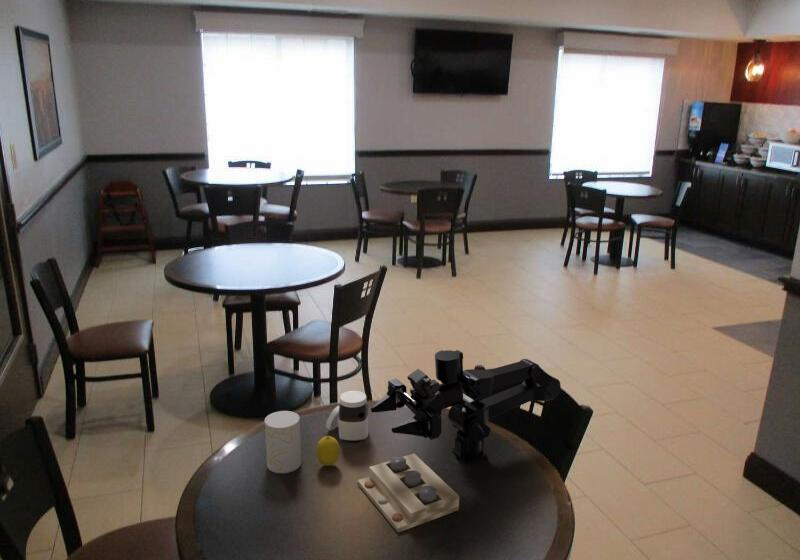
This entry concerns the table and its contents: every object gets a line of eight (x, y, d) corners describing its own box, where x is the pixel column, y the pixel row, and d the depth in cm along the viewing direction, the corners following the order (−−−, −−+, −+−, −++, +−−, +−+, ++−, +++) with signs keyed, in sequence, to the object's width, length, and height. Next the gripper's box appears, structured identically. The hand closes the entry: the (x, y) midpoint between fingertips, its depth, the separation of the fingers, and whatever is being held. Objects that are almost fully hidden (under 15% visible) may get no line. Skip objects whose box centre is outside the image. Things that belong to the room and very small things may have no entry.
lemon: (336, 473, 145) (335, 443, 143) (313, 470, 146) (312, 440, 144) (342, 460, 150) (342, 431, 148) (321, 458, 151) (320, 429, 149)
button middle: (415, 477, 139) (415, 468, 139) (423, 485, 136) (423, 476, 136) (401, 481, 138) (401, 473, 137) (409, 490, 135) (409, 481, 134)
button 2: (430, 492, 134) (430, 483, 133) (439, 501, 131) (439, 492, 130) (416, 497, 132) (416, 488, 132) (425, 506, 129) (425, 497, 129)
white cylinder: (260, 468, 147) (257, 423, 144) (279, 451, 154) (276, 408, 151) (289, 476, 144) (287, 430, 141) (307, 458, 151) (305, 414, 148)
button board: (413, 466, 148) (414, 453, 148) (458, 510, 133) (459, 496, 132) (357, 483, 141) (357, 470, 140) (397, 532, 125) (398, 518, 125)
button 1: (401, 463, 145) (401, 454, 144) (408, 470, 142) (409, 462, 141) (387, 467, 143) (387, 458, 142) (395, 475, 140) (395, 466, 139)
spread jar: (367, 447, 156) (366, 406, 153) (322, 446, 157) (321, 405, 153) (369, 423, 168) (369, 384, 165) (328, 423, 168) (327, 384, 165)
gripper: (416, 351, 148) (359, 370, 141) (463, 385, 133) (402, 409, 126) (417, 390, 153) (362, 411, 145) (463, 428, 138) (404, 453, 130)
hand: (381, 420), depth 137 cm, fingers open, 9 cm apart
